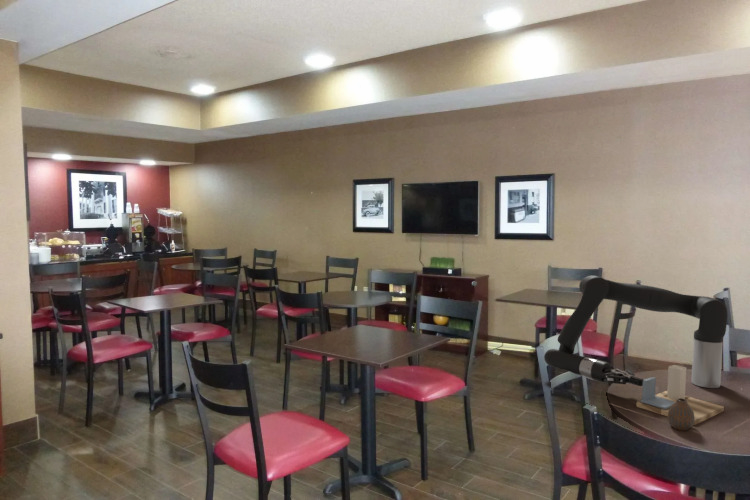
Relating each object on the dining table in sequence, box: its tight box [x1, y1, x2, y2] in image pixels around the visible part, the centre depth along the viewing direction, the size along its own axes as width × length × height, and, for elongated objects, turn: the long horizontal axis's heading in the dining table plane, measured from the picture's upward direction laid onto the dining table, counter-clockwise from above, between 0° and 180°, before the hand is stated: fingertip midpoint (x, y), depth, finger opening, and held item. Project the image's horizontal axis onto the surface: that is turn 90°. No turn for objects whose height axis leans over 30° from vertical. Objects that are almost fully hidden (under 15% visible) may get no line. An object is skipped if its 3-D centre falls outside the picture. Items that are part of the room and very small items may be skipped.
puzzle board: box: [636, 390, 725, 426], centre depth 169 cm, size 20×18×2 cm
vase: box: [667, 398, 695, 431], centre depth 154 cm, size 7×7×9 cm
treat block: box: [666, 364, 687, 400], centre depth 175 cm, size 4×4×12 cm
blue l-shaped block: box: [639, 376, 675, 409], centre depth 168 cm, size 8×8×7 cm
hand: (642, 382), depth 173 cm, fingers closed
